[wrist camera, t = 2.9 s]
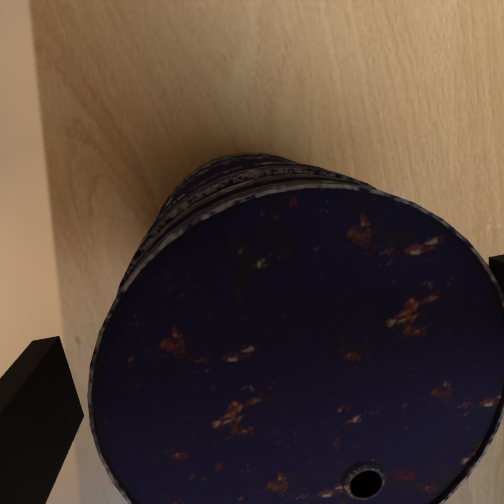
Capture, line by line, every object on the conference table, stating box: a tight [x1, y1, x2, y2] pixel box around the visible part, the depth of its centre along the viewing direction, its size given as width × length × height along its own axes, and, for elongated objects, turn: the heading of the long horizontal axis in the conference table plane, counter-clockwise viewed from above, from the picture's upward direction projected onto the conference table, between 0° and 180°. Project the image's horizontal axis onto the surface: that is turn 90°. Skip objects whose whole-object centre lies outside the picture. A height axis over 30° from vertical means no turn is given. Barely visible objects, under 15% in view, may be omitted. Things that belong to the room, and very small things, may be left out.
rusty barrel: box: [87, 153, 504, 504], centre depth 16 cm, size 10×10×15 cm
